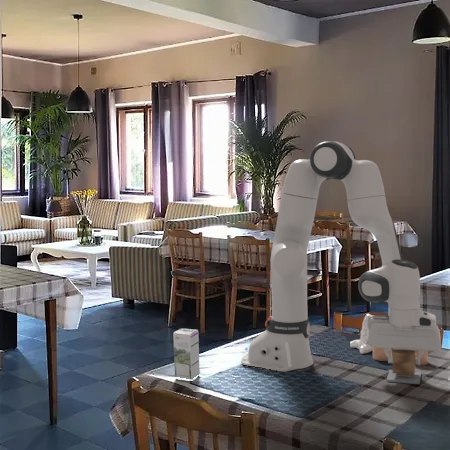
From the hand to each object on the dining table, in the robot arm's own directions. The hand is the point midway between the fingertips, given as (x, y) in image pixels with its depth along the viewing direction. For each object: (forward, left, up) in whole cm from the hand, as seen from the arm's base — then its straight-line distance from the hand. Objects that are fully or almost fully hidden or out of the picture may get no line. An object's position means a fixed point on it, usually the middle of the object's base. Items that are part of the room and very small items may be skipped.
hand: (404, 363), depth 196 cm
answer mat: (0, 0, -4) cm, 4 cm away
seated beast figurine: (-14, +27, -4) cm, 31 cm away
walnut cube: (0, 0, -2) cm, 2 cm away
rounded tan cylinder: (-8, +18, -4) cm, 20 cm away
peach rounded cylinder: (+3, +16, -4) cm, 17 cm away
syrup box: (-61, -16, -4) cm, 63 cm away
